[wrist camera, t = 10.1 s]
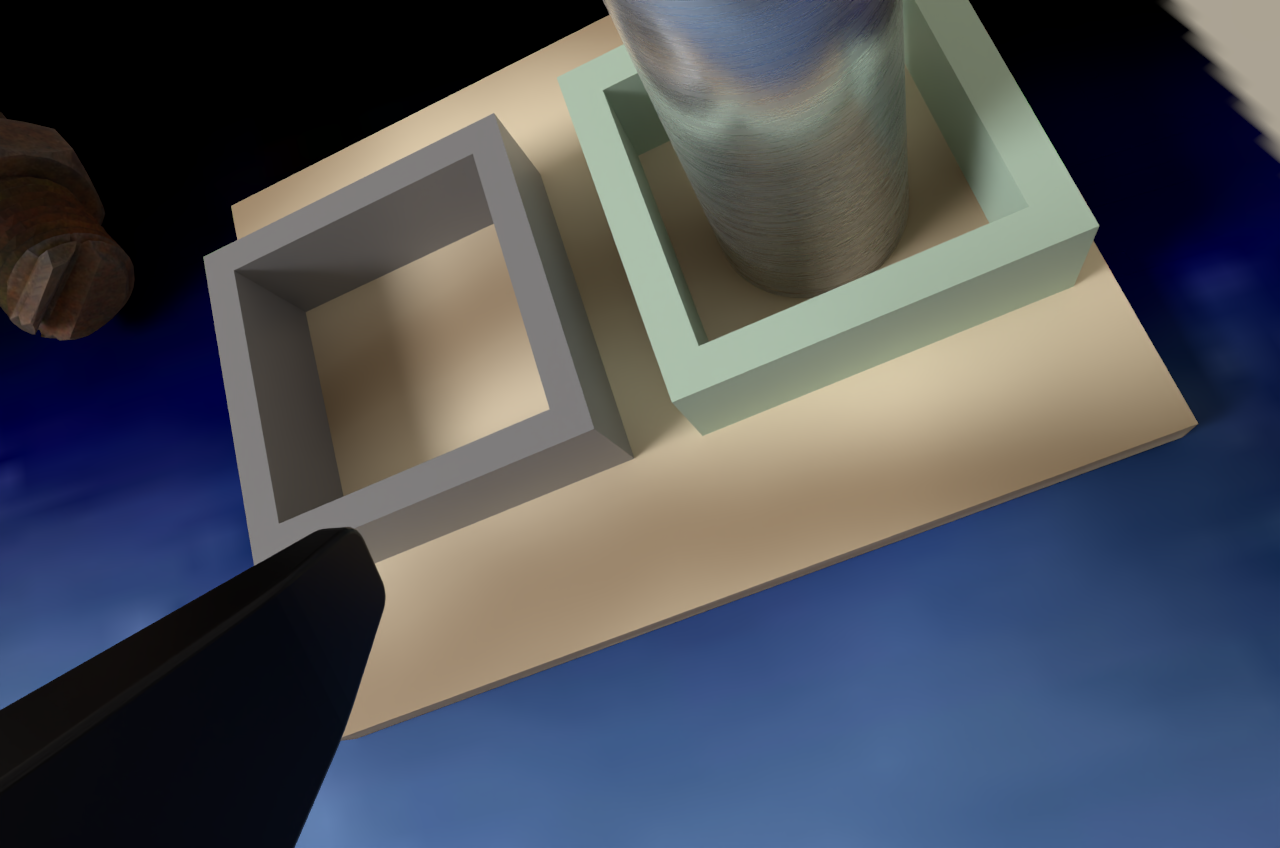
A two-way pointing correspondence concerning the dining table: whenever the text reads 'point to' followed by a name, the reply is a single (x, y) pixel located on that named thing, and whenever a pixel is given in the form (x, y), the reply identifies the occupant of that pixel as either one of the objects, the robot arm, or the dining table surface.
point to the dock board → (658, 432)
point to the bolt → (54, 239)
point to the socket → (876, 303)
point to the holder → (357, 254)
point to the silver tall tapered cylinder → (783, 128)
